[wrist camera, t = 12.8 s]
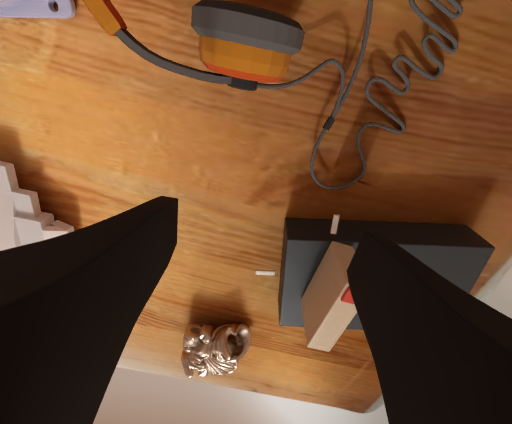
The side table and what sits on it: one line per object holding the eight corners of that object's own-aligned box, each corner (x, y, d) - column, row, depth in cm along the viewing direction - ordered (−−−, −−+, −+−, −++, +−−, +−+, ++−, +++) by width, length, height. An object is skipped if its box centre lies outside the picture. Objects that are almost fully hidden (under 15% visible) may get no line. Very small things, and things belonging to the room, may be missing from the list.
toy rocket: (-67, 141, 18) (-108, 150, 16) (72, 170, 19) (49, 182, 17) (-6, 296, 26) (-29, 315, 24) (92, 314, 27) (78, 334, 25)
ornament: (219, 298, 25) (212, 331, 22) (263, 335, 27) (262, 370, 24) (165, 329, 28) (151, 363, 24) (209, 361, 30) (202, 395, 27)
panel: (256, 297, 25) (254, 326, 22) (258, 192, 19) (257, 212, 17) (427, 306, 24) (447, 336, 21) (478, 200, 19) (514, 222, 16)
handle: (319, 304, 21) (330, 356, 17) (300, 299, 20) (307, 350, 17) (353, 246, 18) (375, 292, 14) (331, 240, 18) (348, 286, 14)
